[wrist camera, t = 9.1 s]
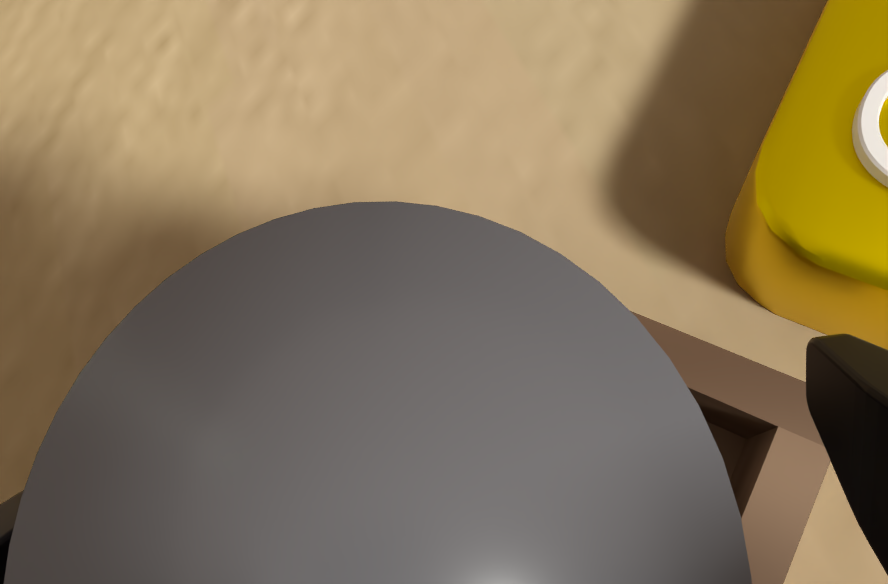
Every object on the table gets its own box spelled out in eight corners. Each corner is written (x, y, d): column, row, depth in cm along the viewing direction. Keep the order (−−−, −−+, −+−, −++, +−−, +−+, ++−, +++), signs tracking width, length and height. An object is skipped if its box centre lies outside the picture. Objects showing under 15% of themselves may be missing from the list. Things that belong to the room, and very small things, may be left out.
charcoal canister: (515, 674, 15) (195, 1310, 3) (394, 490, 17) (-84, 477, 5) (686, 537, 15) (976, 686, 3) (547, 368, 17) (417, 80, 5)
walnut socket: (639, 816, 14) (651, 927, 11) (298, 587, 18) (216, 612, 14) (795, 423, 16) (853, 402, 12) (456, 278, 19) (421, 225, 15)
